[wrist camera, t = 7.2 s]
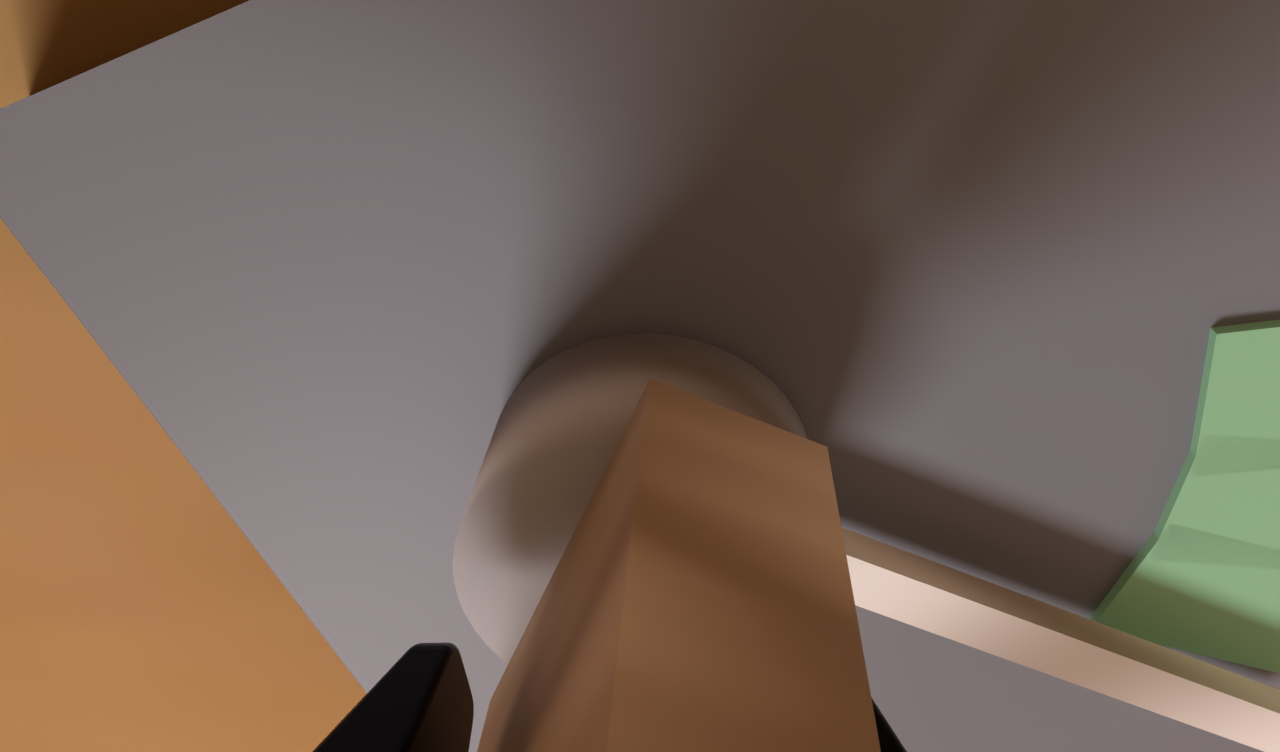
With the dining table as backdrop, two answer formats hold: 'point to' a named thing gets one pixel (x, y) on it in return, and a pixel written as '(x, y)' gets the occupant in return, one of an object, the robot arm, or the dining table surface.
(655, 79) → the tuner dial board
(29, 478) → the dining table surface
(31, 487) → the dining table surface
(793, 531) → the tuning peg
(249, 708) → the dining table surface
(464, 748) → the robot arm
